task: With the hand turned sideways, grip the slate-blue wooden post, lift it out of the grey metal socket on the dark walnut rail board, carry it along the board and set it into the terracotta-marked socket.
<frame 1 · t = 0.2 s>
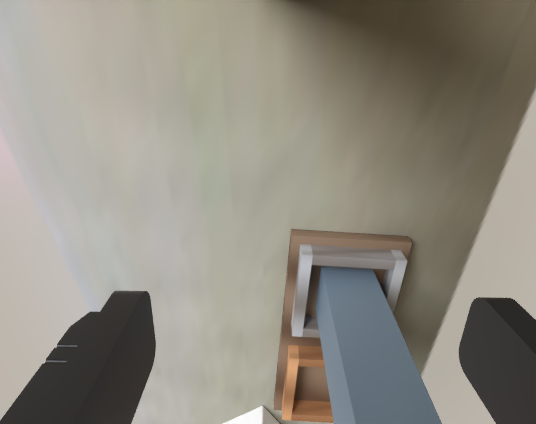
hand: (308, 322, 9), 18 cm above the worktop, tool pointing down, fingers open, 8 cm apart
post: (343, 288, 29), point 1 cm above the worktop, touching socket board
socket board: (332, 328, 32), on the worktop
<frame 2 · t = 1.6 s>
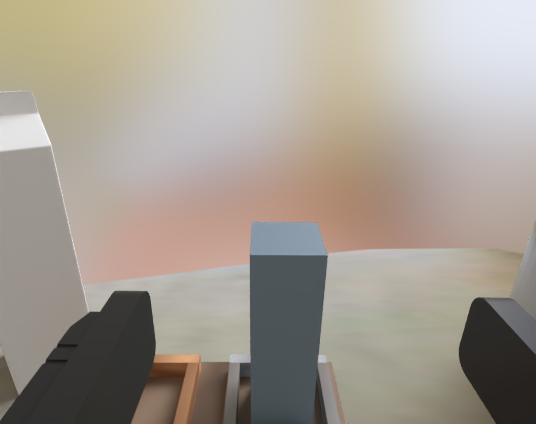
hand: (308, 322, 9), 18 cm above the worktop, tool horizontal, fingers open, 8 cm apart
post: (279, 410, 26), point 1 cm above the worktop, touching socket board
milk: (55, 357, 32), on the worktop
socket board: (210, 420, 26), on the worktop
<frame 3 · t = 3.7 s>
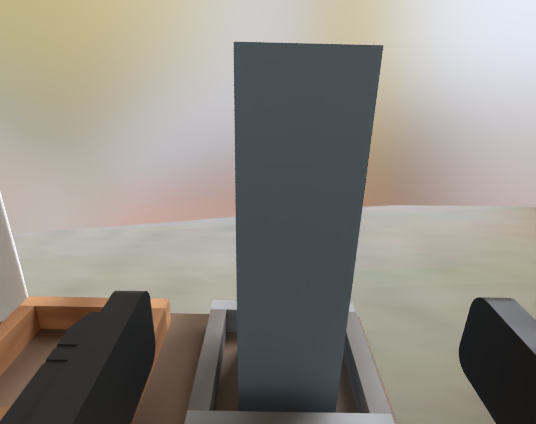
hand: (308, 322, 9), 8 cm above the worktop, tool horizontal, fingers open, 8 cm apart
post: (284, 377, 17), point 1 cm above the worktop, touching socket board
socket board: (178, 391, 17), on the worktop
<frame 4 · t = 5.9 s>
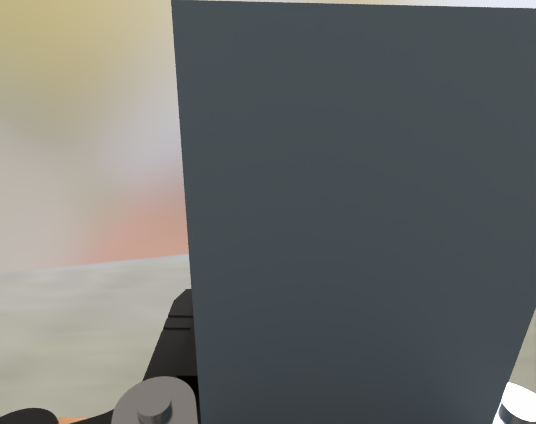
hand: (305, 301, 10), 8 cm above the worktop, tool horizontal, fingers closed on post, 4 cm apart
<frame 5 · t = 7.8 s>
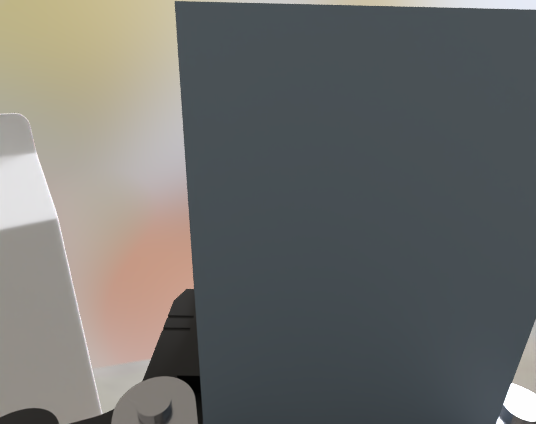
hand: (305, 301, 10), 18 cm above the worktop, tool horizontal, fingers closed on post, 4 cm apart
when the fingers open (10 cm above the worktop, at t = 10.0 s): post drops 1 cm, resting on socket board.
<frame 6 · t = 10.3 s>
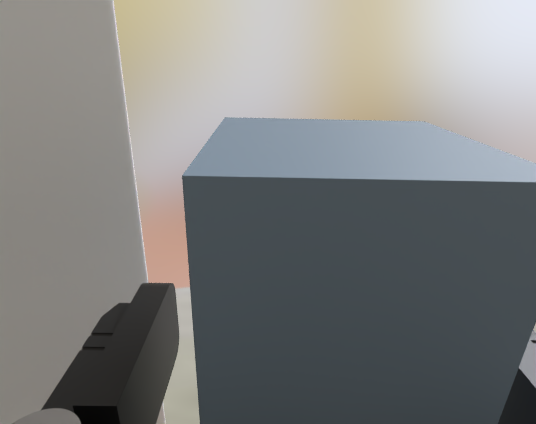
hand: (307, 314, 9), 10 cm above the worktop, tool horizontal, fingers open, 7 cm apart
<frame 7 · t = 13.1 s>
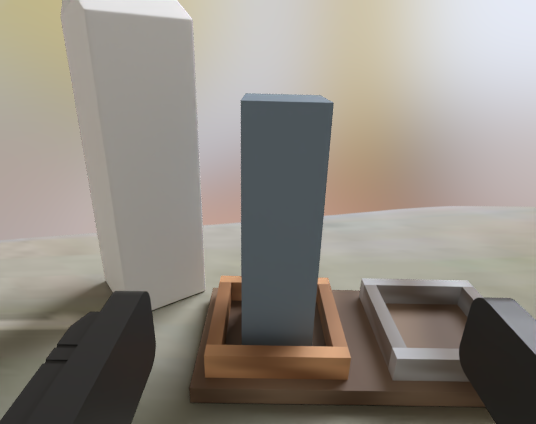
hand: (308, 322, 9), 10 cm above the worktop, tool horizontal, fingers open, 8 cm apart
post: (275, 330, 23), point 1 cm above the worktop, touching socket board
milk: (155, 287, 29), on the worktop
socket board: (352, 344, 23), on the worktop
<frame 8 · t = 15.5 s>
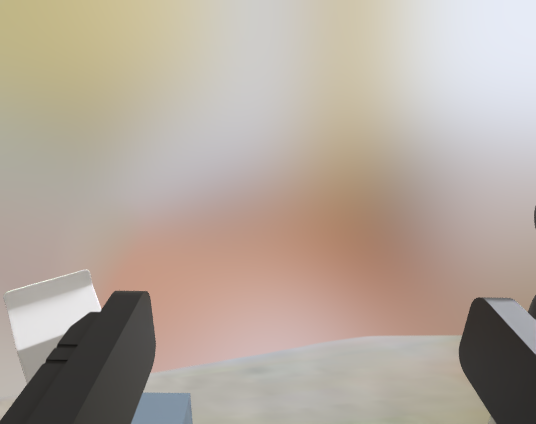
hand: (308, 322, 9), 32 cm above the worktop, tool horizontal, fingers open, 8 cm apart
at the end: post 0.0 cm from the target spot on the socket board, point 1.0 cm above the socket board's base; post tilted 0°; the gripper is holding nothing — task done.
